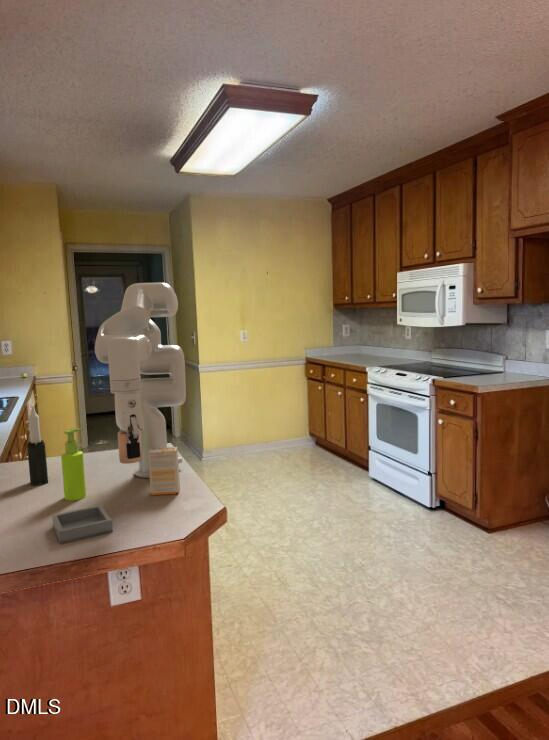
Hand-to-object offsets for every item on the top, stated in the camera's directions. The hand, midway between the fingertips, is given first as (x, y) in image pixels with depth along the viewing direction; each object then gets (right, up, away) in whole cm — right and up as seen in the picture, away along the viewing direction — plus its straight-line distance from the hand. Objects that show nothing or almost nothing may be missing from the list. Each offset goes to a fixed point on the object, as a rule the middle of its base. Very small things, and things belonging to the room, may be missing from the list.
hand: (130, 454), depth 134 cm
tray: (-11, -18, -5) cm, 21 cm away
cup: (0, -2, 0) cm, 2 cm away
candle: (-38, -15, +33) cm, 53 cm away
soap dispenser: (-21, -16, +19) cm, 32 cm away
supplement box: (+5, -15, +20) cm, 25 cm away
